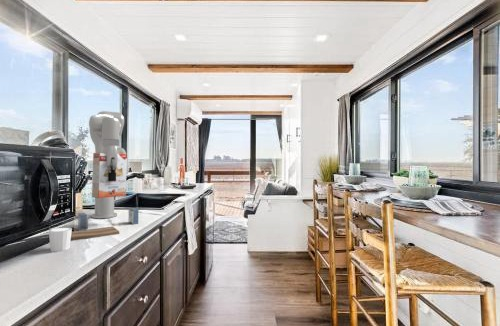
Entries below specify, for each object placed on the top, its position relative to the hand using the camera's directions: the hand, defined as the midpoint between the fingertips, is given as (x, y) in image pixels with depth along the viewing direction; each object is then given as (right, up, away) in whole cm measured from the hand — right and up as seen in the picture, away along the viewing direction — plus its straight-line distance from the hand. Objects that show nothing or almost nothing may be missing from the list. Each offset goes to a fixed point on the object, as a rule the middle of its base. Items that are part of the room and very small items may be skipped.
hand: (110, 180), depth 134 cm
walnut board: (0, -22, -15) cm, 27 cm away
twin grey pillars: (0, -22, 0) cm, 22 cm away
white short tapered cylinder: (0, -23, -35) cm, 42 cm away
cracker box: (0, -8, 0) cm, 8 cm away
